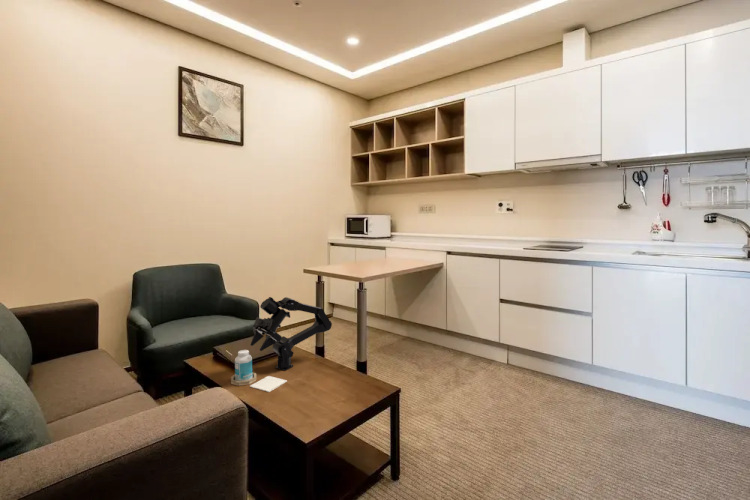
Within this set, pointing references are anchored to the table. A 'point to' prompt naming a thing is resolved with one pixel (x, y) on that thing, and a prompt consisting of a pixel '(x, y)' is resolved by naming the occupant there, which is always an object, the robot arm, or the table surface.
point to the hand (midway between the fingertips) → (255, 347)
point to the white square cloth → (268, 383)
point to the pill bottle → (243, 366)
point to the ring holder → (243, 381)
